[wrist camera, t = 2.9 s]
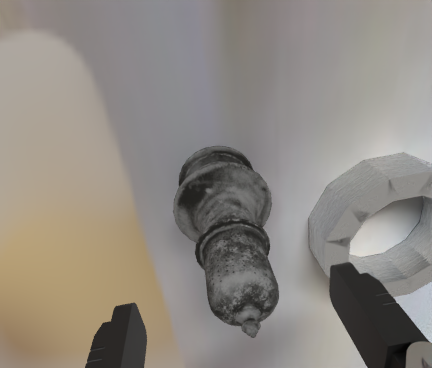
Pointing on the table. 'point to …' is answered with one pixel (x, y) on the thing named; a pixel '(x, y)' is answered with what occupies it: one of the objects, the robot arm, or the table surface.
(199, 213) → the salt shaker
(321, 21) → the table surface
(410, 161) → the ring
